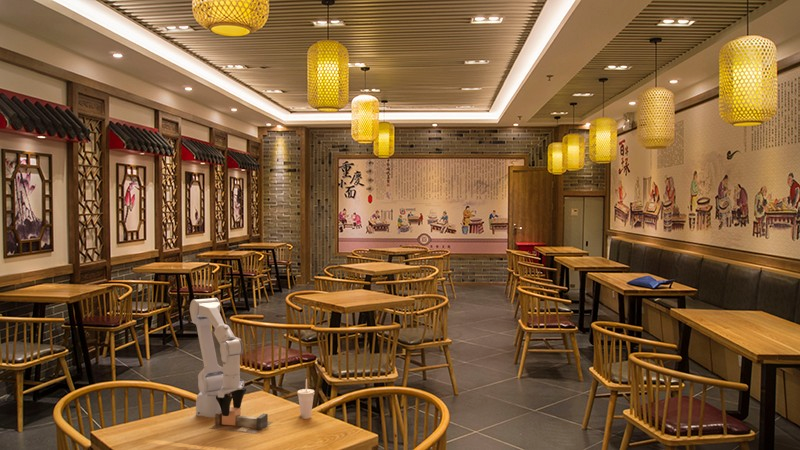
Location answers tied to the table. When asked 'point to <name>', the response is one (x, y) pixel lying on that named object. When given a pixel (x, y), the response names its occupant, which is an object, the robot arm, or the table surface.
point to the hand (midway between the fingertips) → (231, 412)
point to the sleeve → (231, 416)
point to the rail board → (231, 427)
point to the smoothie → (305, 402)
